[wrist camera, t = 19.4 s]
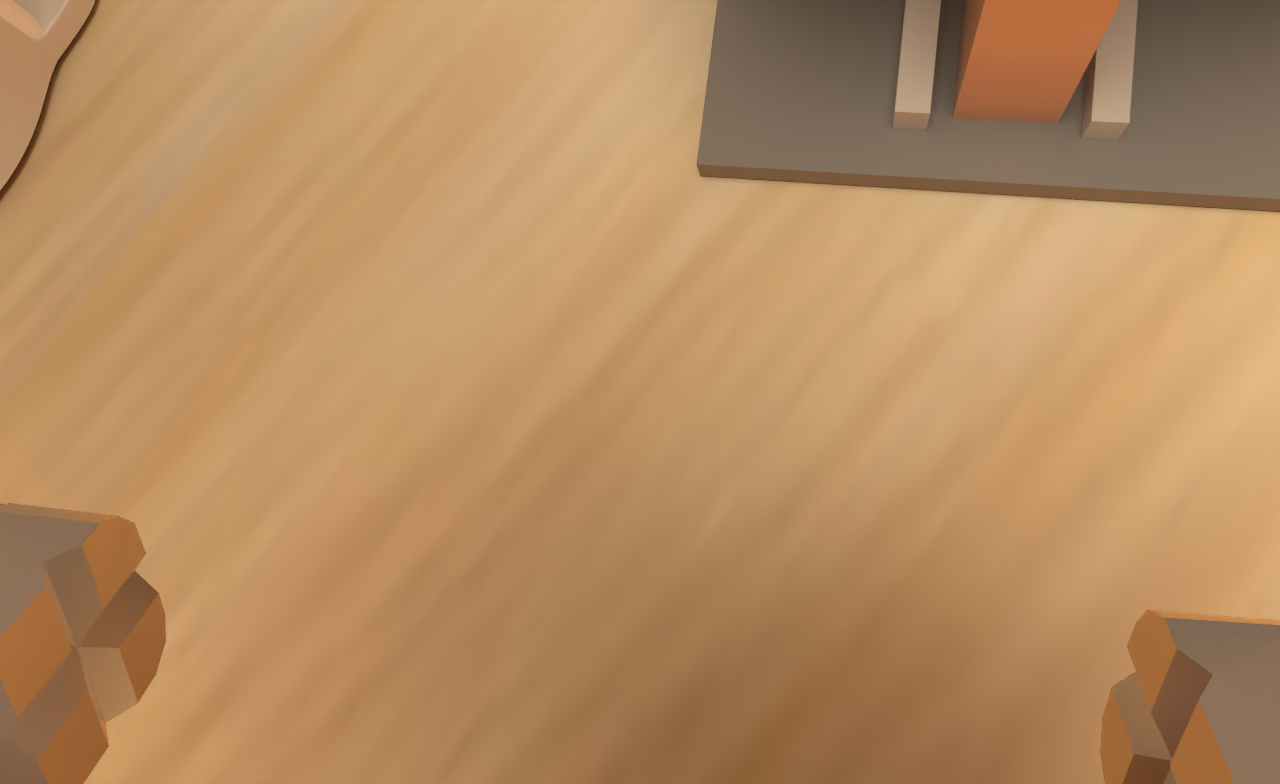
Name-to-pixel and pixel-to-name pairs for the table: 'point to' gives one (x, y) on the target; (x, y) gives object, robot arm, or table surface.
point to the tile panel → (1025, 56)
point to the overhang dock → (998, 149)
